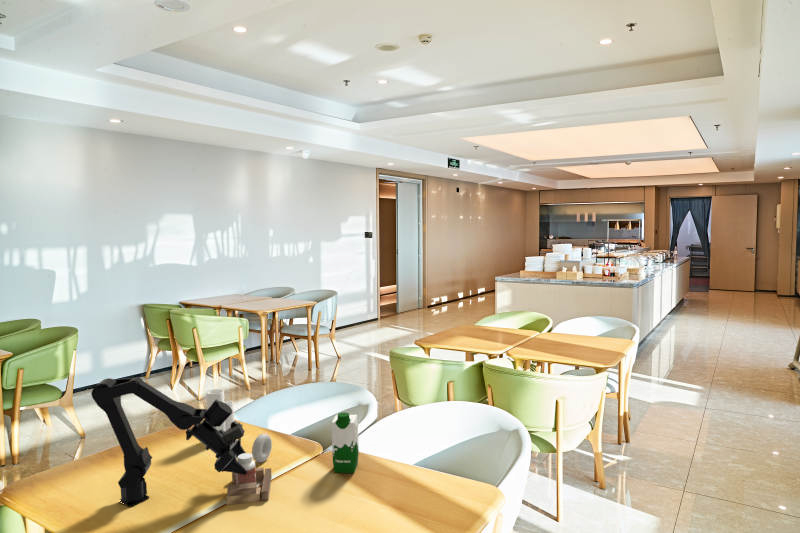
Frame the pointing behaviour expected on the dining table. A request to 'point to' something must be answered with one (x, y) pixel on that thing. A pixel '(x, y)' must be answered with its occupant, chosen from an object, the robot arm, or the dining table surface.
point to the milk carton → (345, 443)
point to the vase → (219, 395)
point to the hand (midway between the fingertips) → (247, 466)
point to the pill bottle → (249, 465)
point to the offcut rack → (249, 488)
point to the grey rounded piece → (261, 447)
